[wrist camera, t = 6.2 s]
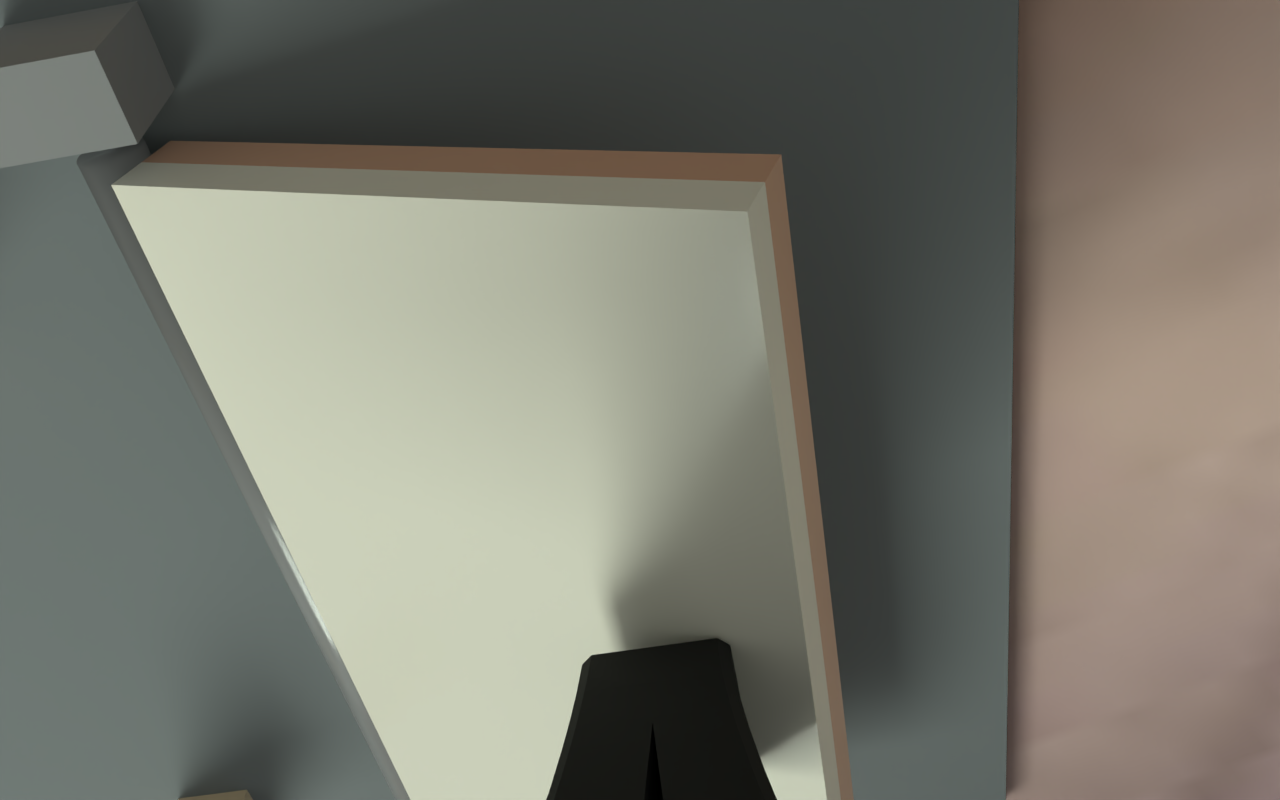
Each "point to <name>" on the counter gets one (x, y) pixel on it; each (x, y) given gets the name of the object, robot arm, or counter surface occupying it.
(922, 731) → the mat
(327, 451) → the tile
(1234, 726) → the counter surface
